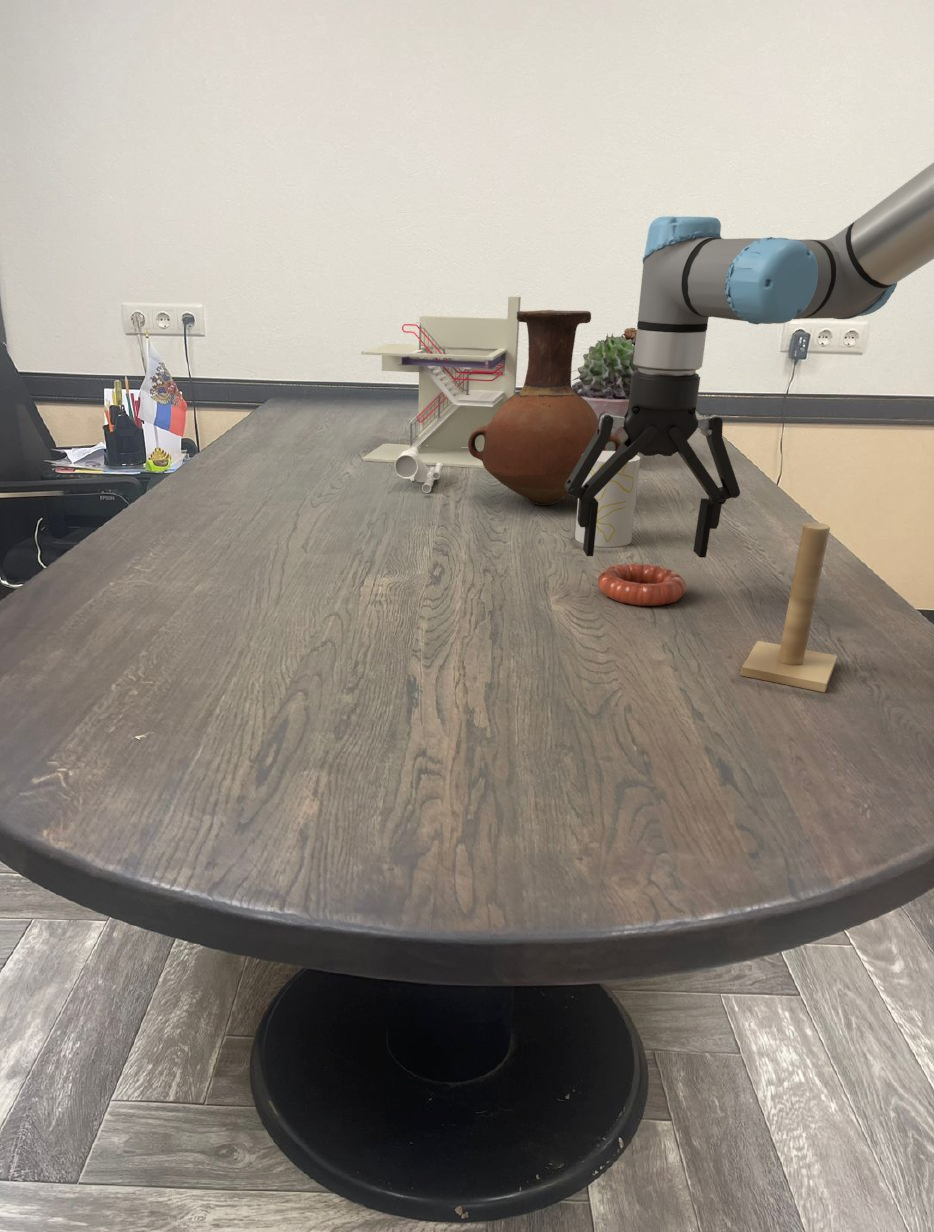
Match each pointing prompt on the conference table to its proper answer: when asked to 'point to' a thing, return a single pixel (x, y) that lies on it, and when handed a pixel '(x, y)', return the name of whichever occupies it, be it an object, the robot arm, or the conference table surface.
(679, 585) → the ring
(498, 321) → the staircase
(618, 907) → the conference table surface
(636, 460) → the white patterned cylinder
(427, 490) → the white pipe fitting
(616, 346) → the potted plant
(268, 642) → the conference table surface
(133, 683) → the conference table surface
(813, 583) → the post
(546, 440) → the vase
